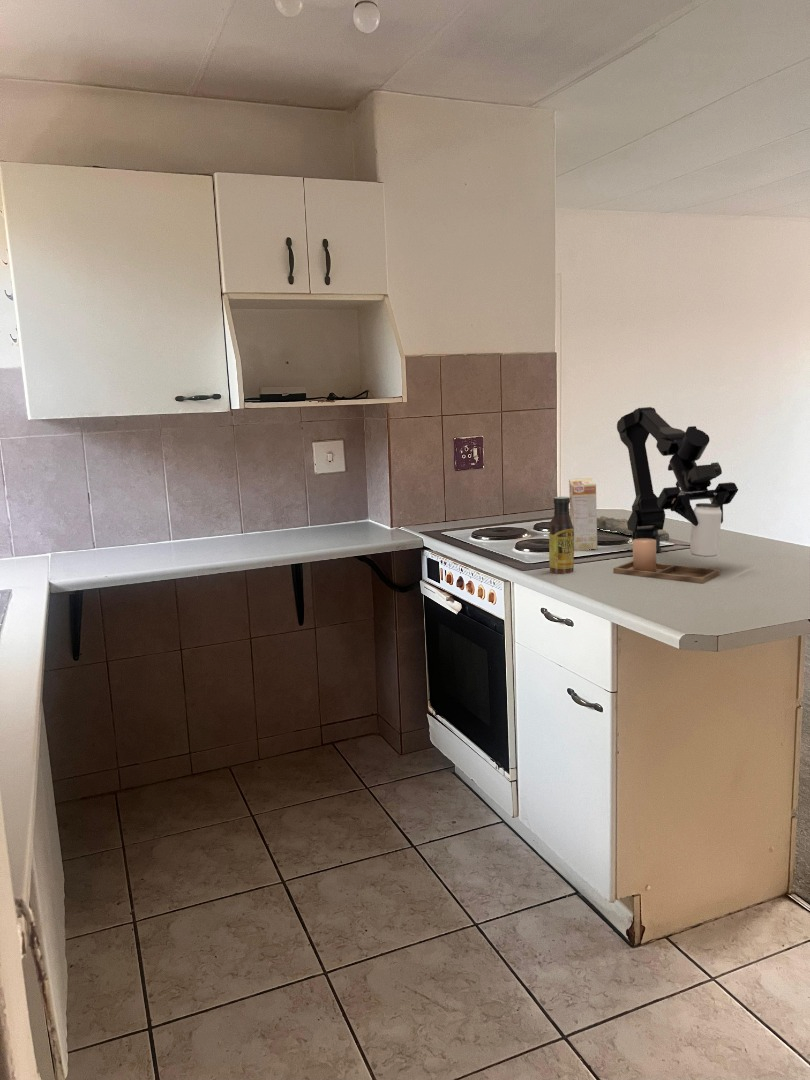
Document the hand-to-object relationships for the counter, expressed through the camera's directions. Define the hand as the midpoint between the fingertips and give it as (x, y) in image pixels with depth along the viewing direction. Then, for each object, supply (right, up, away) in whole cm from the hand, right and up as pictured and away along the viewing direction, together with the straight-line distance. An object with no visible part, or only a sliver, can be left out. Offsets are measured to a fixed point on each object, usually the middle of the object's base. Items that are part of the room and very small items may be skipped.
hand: (709, 523), depth 193 cm
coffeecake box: (-19, -6, +50) cm, 54 cm away
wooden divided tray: (-8, -13, +7) cm, 17 cm away
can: (0, -7, +3) cm, 8 cm away
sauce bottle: (-32, -13, +17) cm, 38 cm away
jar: (-12, -12, +10) cm, 20 cm away
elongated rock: (-2, -2, +66) cm, 66 cm away
